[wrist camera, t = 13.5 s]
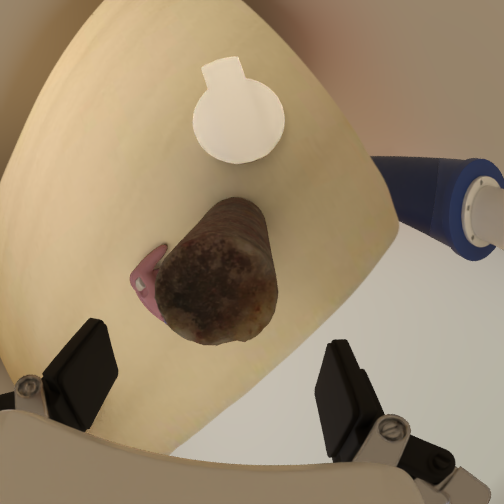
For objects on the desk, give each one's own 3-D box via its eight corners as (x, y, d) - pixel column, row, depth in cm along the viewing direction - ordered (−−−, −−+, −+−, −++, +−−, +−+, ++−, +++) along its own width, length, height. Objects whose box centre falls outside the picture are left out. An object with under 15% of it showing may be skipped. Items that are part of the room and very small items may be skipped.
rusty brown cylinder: (209, 190, 33) (153, 230, 14) (269, 198, 33) (295, 248, 14) (203, 250, 35) (155, 348, 16) (260, 257, 35) (271, 364, 16)
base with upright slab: (288, 151, 31) (309, 145, 20) (215, 173, 32) (196, 179, 21) (265, 83, 28) (273, 45, 17) (193, 105, 29) (164, 78, 18)
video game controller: (149, 252, 37) (117, 283, 31) (165, 238, 34) (130, 271, 29) (195, 303, 39) (170, 338, 34) (214, 295, 36) (189, 333, 31)
